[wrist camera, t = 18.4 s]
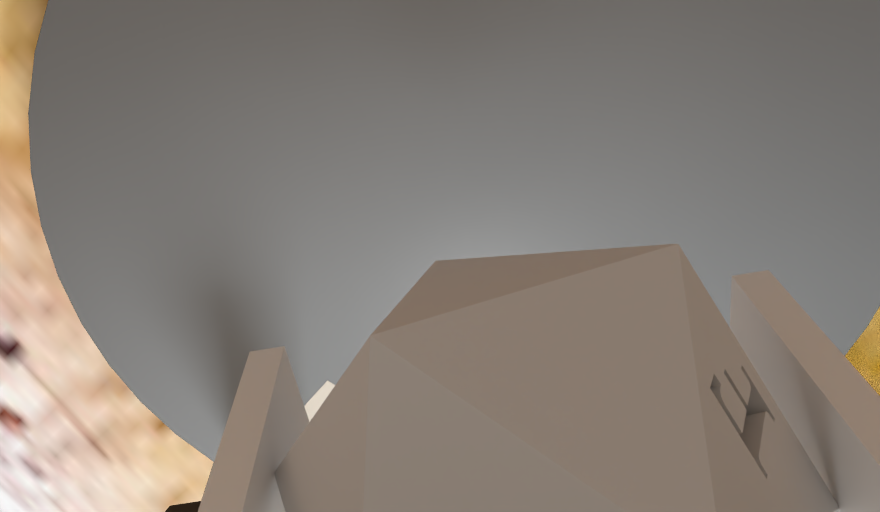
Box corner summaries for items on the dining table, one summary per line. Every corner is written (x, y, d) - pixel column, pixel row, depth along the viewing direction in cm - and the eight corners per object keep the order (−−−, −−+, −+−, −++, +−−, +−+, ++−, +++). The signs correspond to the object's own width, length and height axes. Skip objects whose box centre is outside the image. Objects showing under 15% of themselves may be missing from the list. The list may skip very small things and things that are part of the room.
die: (668, 475, 19) (1105, 611, 9) (399, 717, 16) (641, 1232, 7) (499, 207, 18) (790, 74, 9) (191, 414, 15) (150, 530, 6)
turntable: (414, -637, 14) (415, -1122, 7) (1063, 139, 23) (1354, 263, 16) (-78, 263, 23) (-287, 433, 16) (514, 579, 32) (543, 781, 25)
